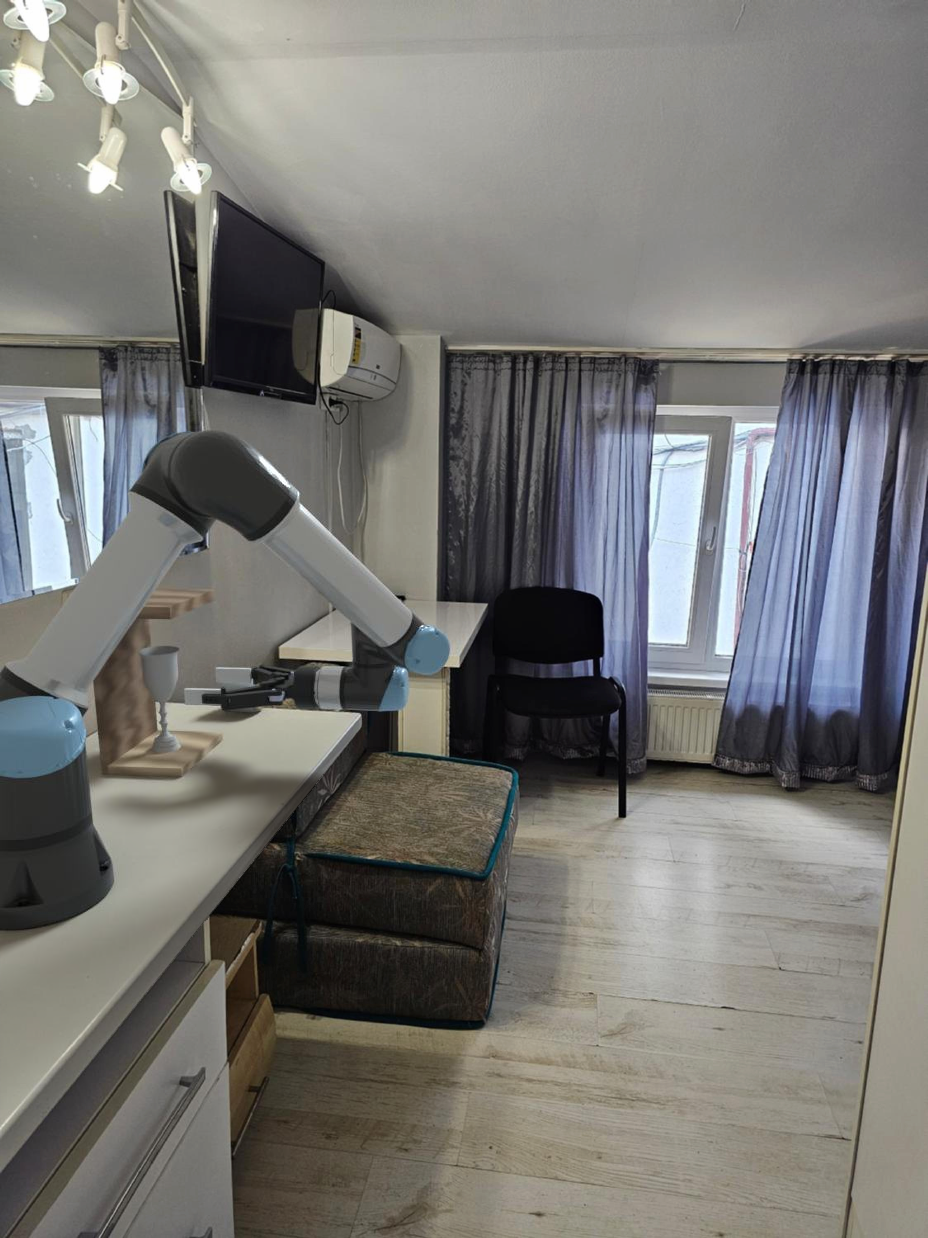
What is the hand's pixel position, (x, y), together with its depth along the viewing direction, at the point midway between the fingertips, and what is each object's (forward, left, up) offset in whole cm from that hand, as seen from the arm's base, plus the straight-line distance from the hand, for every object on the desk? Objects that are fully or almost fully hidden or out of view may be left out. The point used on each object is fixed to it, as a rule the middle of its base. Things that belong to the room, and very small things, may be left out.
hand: (201, 685), depth 135 cm
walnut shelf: (-4, +6, -13) cm, 15 cm away
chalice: (-4, +6, -12) cm, 14 cm away
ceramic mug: (+22, +16, -13) cm, 31 cm away
